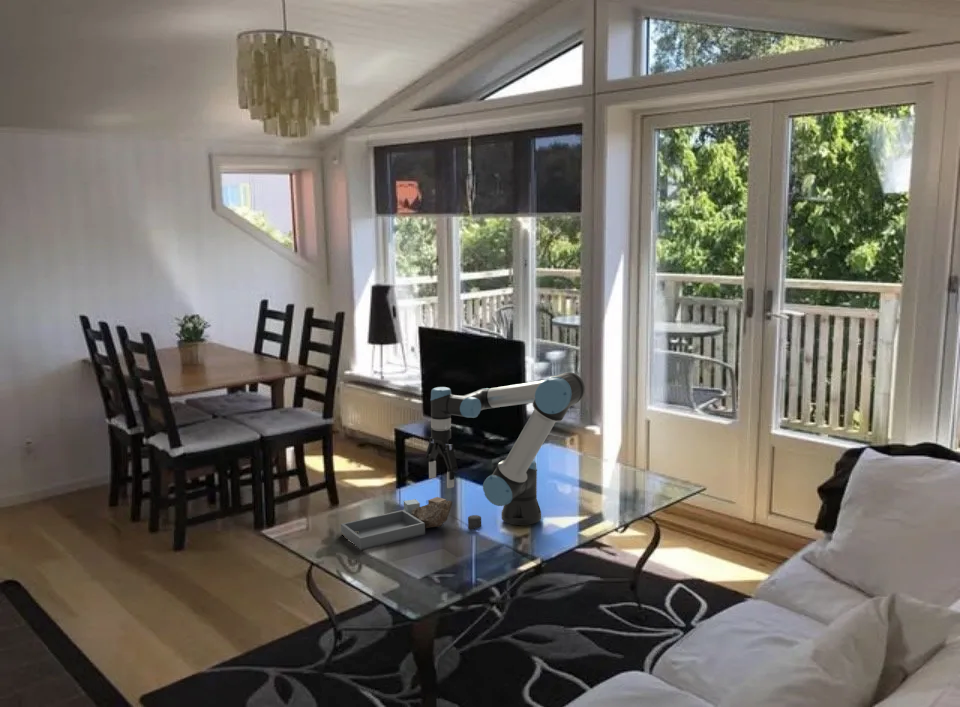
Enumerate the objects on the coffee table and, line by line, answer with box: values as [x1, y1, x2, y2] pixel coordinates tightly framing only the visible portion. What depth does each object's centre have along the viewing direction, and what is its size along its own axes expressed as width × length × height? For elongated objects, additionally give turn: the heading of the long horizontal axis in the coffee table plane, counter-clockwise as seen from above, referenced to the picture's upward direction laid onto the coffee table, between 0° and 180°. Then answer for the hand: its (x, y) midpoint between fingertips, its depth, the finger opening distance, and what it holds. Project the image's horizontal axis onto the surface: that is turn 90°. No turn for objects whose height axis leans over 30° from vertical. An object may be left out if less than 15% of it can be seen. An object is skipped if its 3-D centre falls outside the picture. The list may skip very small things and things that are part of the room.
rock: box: [411, 500, 453, 529], centre depth 305 cm, size 18×10×10 cm
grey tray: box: [340, 509, 426, 551], centre depth 297 cm, size 17×26×4 cm, turn 123°
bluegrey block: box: [403, 498, 421, 514], centre depth 316 cm, size 5×5×6 cm
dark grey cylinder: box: [467, 514, 482, 531], centre depth 303 cm, size 5×5×4 cm
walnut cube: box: [427, 496, 447, 504], centre depth 321 cm, size 5×5×5 cm
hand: (441, 482), depth 305 cm, fingers open, 13 cm apart
